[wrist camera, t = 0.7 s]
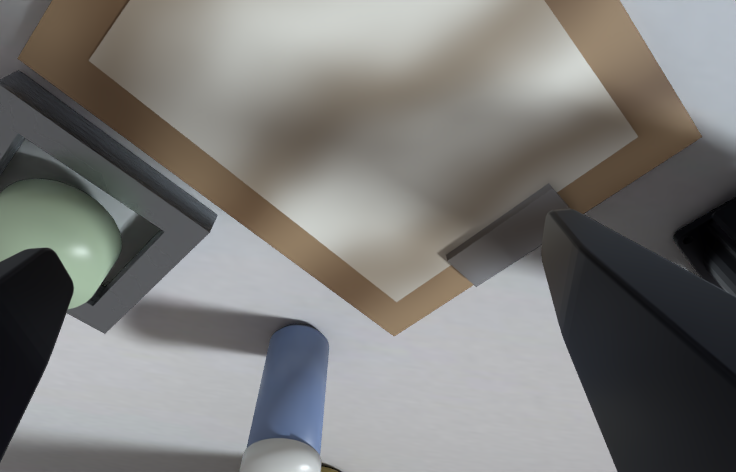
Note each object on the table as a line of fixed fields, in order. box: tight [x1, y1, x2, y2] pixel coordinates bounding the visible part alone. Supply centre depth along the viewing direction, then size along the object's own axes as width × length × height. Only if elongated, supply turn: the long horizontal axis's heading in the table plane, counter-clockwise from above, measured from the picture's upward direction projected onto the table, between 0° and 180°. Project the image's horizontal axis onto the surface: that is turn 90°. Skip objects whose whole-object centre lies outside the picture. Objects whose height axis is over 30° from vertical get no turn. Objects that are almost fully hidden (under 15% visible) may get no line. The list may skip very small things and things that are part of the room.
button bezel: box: [0, 70, 217, 334], centre depth 24 cm, size 10×10×2 cm
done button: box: [0, 179, 122, 309], centre depth 22 cm, size 6×6×2 cm
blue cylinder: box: [239, 324, 329, 472], centre depth 26 cm, size 4×4×9 cm
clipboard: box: [17, 0, 702, 336], centre depth 20 cm, size 22×18×1 cm
